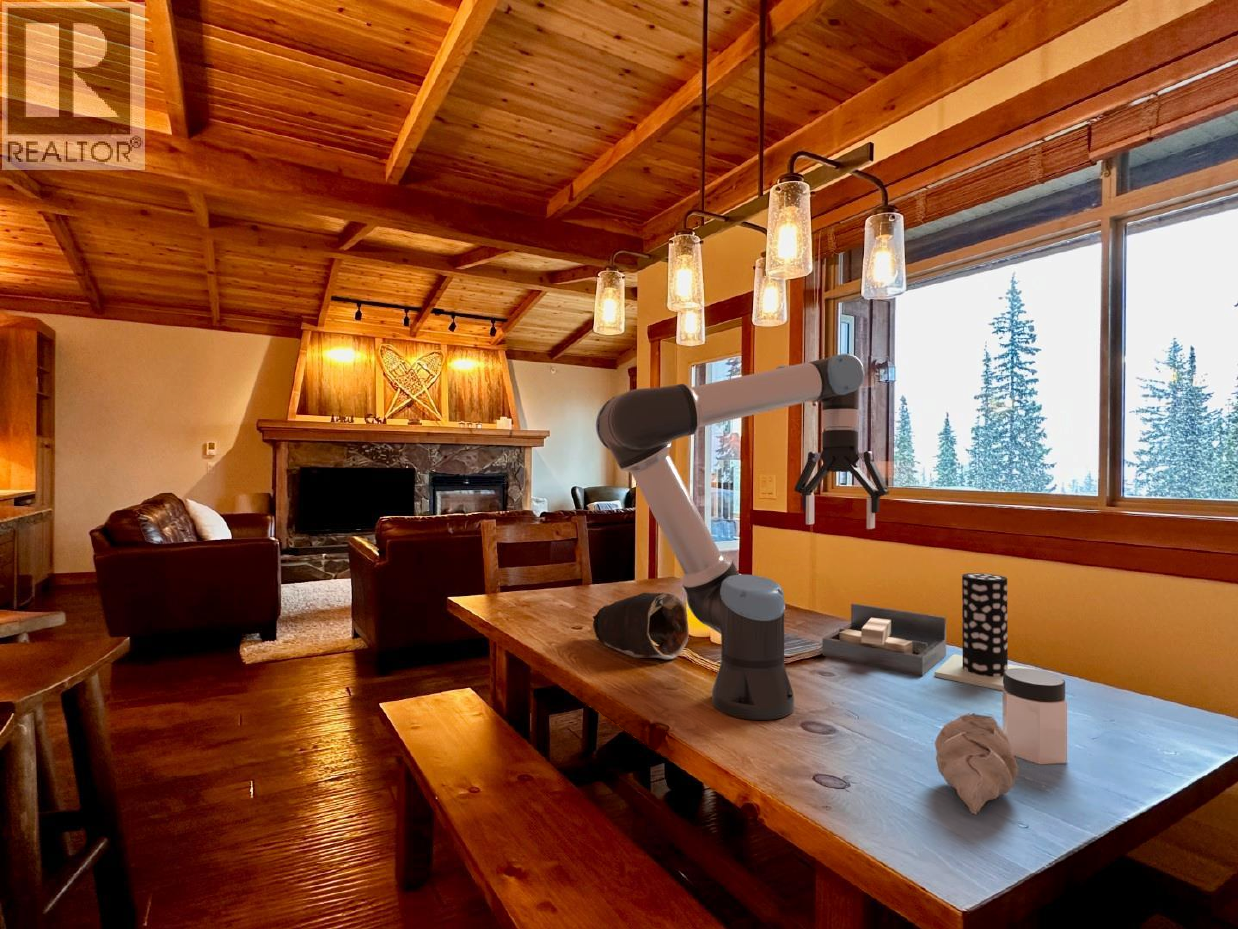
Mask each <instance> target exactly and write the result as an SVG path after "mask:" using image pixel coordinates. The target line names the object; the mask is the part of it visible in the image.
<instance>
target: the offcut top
mask: <svg viewBox="0 0 1238 929" xmlns="http://www.w3.org/2000/svg"><path fill="white" fill-rule="evenodd" d="M890 634H891V620H887V619H879V618H870V619H869V621H868V622H867V623H866V624H865V625H864V626H863V627H862V629H861V642H863V643H870V644H878V645H883V644H884V642H885V641H886V639H887V638H888V637H889V635H890Z"/></svg>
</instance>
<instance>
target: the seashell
mask: <svg viewBox="0 0 1238 929" xmlns="http://www.w3.org/2000/svg"><path fill="white" fill-rule="evenodd" d="M934 745H935V751H936V757H935V761H936V766H937V769H938V772H939V774H940V775H941V776H942V777H943V779H944V780H945V783H947V785H949V786H950V787H952V788H954V789H955V790H956V792H957V795H958V796H959V798H960V800H962V802H964V804H965V805H966V806H968V810H969V812H970V813H971V814H974V815H976V816H977V815H978V813H979V812H980V811H981V809H982V807H983V806H985V804H986V802H987V801H990V800H996V799H997V798H999V796H1002V795H1005V794H1008V793H1009V792H1010V790H1011V789H1012V787H1013V784H1014V783H1015V781H1016V779H1017V777H1018V773H1019V768H1018V764H1017V760H1016V758H1015V756H1013V753H1012V749H1011V745H1010V743H1009V741H1008V738H1007V735H1006V734H1005V732H1004V731H1003V727H1002V726H1000V725H999V724H998V722H997V720H996V718H994V716H989V715H985V714H984V715H981V714H977V713H971V714H970V713H966V714H963V715H960V716H959V717H957V718H956V719H954V720H951V721H950V722H948V723H946V724H944V725H943V727H942V729H941V730H940V732H939V733H938V735H937V736H936V739H935V741H934Z"/></svg>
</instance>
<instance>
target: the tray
mask: <svg viewBox="0 0 1238 929" xmlns="http://www.w3.org/2000/svg"><path fill="white" fill-rule="evenodd" d="M870 618H879V619H887V620H891V634H890V635H889V637H892V638H897V639H902V640H907V641H912V654H910V653H905V652H899V651H894V650H889V649H883V648H878V647H873V646H867V645H862V644H857V643H852V642H846V641H841V640H839V632H842V631H844V630H847V629H851V630H856V631H861V629H862V627H863V626H864V625H865V624H866V623H867V622H868V621H869V619H870ZM821 641H822V646H821V647H822V648H821V649H822V654H821V655H822V656H825V657H828V658H833V659H839V660H842V661H846V662H847V661H848V662H853V663H857V664H863V665H866V666H872V667H876V668H881V669H882V668H883V669H884V670H885V669H886V670H890V671H896V672H901V673H905V674H908V675H909V674H910V675H914V676H921V677H924V675H926V674H927V673H928V672H929V671H930V670H931V669H932V668H934V667H935V666H936V665H937V664H938V663H940V661H942V659H943V658H944V657H946V656H947V616H941V615H934V614H930V613H929V614H928V613H922V612H916V611H915V612H914V611H907V610H900V609H896V608H895V609H894V608H888V607H880V606H874V605H867V604H861V603H854V602H852V603H850V624H848V625H846V626H843V627H840V628H839V629H838V630H836V631H834V632H832V633H830V634H828V635H827V636H825V637H823V638H822V640H821Z"/></svg>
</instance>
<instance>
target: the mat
mask: <svg viewBox="0 0 1238 929" xmlns="http://www.w3.org/2000/svg"><path fill="white" fill-rule="evenodd" d="M1012 668H1025V669H1034V670H1037V668H1033V667H1028V666H1027V667H1026V666H1021V665H1016V664H1010V663H1008V669H1012ZM934 677H936V678H941V679H945V680H949V681H954V682H960V683H964V684H969V685H974V686H977V687H978V686H979V687H983V688H988V689H993V690H998V691H1002V692H1003V685H1004V684H1003V676H1001V677H990V676H982V675H977V674H974V673H971V672H968V671H966V670H964V669H963V655H962V654H955V653H954V654H953V655H951V656H950V657H949V658H948V659H947V660H946V661H945V662H944V663H942V664H941V665H940V666H939V667H938V668H937V669H936V670H934Z"/></svg>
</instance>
